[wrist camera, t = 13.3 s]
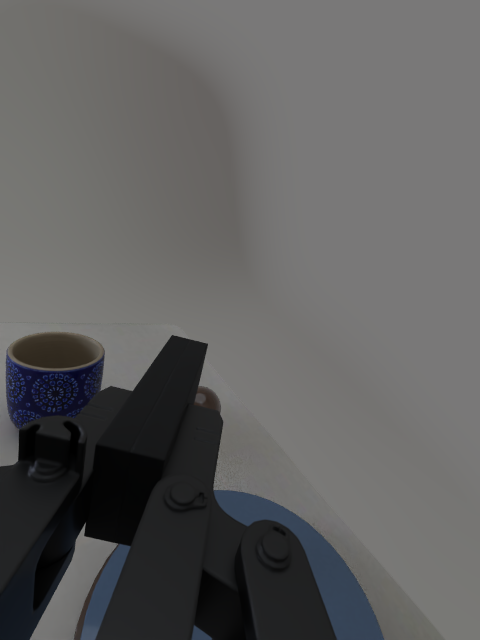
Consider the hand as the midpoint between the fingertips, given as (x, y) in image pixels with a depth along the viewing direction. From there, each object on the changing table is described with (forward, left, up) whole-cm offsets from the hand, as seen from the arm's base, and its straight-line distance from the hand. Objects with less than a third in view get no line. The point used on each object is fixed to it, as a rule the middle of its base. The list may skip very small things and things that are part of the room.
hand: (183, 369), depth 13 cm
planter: (+7, -31, -26) cm, 41 cm away
